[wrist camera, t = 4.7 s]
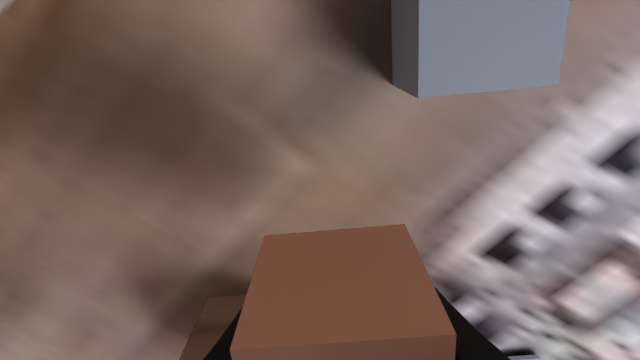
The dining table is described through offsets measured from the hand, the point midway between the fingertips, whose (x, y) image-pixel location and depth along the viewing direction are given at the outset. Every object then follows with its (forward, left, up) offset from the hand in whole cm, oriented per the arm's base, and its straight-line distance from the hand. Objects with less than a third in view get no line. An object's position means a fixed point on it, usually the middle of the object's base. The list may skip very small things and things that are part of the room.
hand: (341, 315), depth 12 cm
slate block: (+9, -6, -8) cm, 14 cm away
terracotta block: (0, 0, -1) cm, 1 cm away
